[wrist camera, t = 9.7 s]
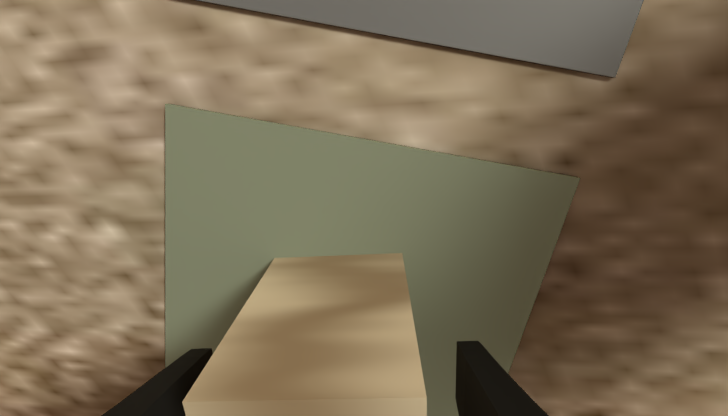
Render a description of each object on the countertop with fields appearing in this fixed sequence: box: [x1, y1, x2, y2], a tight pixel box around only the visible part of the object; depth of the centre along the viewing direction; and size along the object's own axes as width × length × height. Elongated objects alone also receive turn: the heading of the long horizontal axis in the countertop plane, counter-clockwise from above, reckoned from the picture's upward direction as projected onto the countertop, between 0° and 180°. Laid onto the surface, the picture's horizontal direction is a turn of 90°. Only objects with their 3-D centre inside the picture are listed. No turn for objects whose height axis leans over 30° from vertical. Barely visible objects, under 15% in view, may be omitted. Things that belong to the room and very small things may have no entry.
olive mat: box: [165, 104, 580, 416], centre depth 13 cm, size 13×13×1 cm
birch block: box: [182, 253, 427, 416], centre depth 10 cm, size 4×4×6 cm
